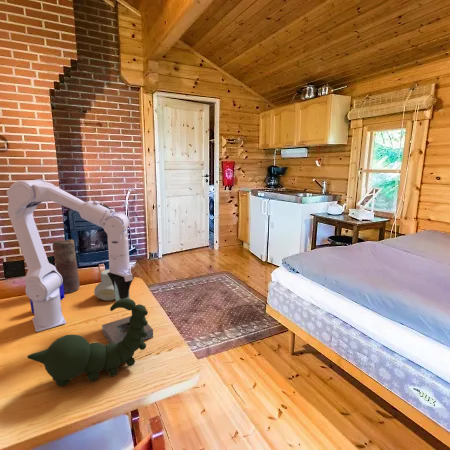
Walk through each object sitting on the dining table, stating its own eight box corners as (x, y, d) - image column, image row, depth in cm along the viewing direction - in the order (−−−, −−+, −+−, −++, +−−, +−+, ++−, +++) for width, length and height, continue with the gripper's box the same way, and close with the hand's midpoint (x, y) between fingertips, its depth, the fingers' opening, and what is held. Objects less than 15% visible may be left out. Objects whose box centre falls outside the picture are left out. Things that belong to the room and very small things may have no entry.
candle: (53, 292, 114) (47, 242, 109) (66, 285, 121) (61, 237, 116) (71, 294, 112) (66, 243, 108) (83, 286, 119) (79, 238, 115)
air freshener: (128, 291, 115) (127, 267, 113) (123, 301, 107) (121, 275, 105) (99, 292, 114) (97, 267, 112) (91, 302, 106) (89, 276, 104)
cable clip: (53, 297, 110) (52, 282, 109) (64, 298, 110) (63, 283, 108) (27, 313, 99) (25, 296, 98) (39, 314, 98) (37, 297, 97)
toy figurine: (139, 355, 81) (30, 377, 69) (143, 289, 77) (28, 300, 66) (148, 377, 72) (25, 406, 61) (152, 304, 69) (23, 320, 57)
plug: (115, 301, 92) (114, 280, 91) (125, 298, 94) (124, 278, 93) (119, 305, 90) (117, 283, 89) (129, 302, 92) (128, 281, 90)
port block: (102, 332, 88) (101, 325, 87) (138, 321, 94) (138, 313, 94) (114, 351, 79) (114, 343, 79) (153, 337, 86) (152, 329, 86)
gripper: (141, 257, 86) (143, 300, 88) (123, 245, 97) (125, 284, 100) (117, 262, 81) (120, 307, 84) (100, 249, 92) (104, 290, 95)
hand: (121, 295), depth 92 cm, fingers closed on plug, 3 cm apart
